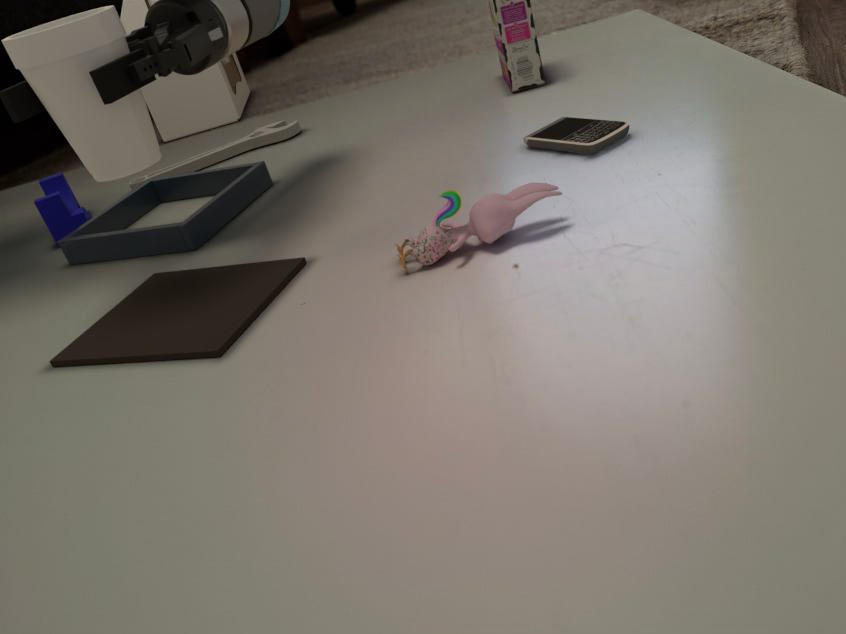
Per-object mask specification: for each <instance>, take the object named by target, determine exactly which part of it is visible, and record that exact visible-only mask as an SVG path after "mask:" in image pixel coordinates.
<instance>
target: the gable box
mask: <svg viewBox="0 0 846 634" xmlns="http://www.w3.org/2000/svg"><path fill="white" fill-rule="evenodd" d="M157 1H158V0H122V5H121V10H120V11H121V12H120V16H119V18H120V20H121V22H122V25H123V27H124V29H125V31H126V34H125V36H128V35H130V34H131V32H132V31H134V30H136V29H139V28H142V27H144V24H145V18H146V14H147V12H148V10H149V8H150V7H151V6H152V5H153V4H154V3H155V2H157ZM229 59H230V61H229V62H228V63H226V64H223V63H222V62H221V60H220V61H218V62H217V63H216V64H214V65H213V66H211V67H209V68H207V69H206V70H204V71H202V72H200V73H198V74H195V75H182V74H178V73H175V72H172V73H171V74H169V76H166V77H162V76H161V77H159V76H158V74H156V75H155V77H156V79H157V80H155V81H153V82H151V83H149V84H147V85H145V86H143V87H142V88H141V89H142V93H143V96H144V99H145V102H146V105H147V109H148V111H149V112H150V115H151V117H152V119H153V121H154V123H155V126H156V128H157V130H158V133H159V134H160V137H161V139H162V140H163V143H168V142H171V141H174V140H178V139H181V138H185V137H188V136H193V135H195V134H199V133H203V132H206V131H209V130H213V129H216V128H219V127H223V126H226V125H229V124H233V123H236V122H239V121H241V120H240V119H241V117H242V115H243V112H244V110H245V107H246V104H247V101H248V99H249V96H250V94H251V90H250V87H249V85H248V82H247V79H246V76H245V74H244V72H243V69H242V67H241V64H240V61H239V58H238V56H237V53H236V52H235V53H233V54H230V55H229Z"/></svg>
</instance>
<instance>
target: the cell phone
mask: <svg viewBox="0 0 846 634" xmlns="http://www.w3.org/2000/svg"><path fill="white" fill-rule="evenodd" d="M629 131H630V124H629V122H626V121H620V120H609V119H595V118H584V117H583V118H582V117H569V116H562V117H559V118H557V119H556V120H554V121H552V122H550V123H548V124H547V125H545V126H542V127H541V128H539V129H537V130H535V131H533V132H532V133H530V134H527V135H526V136H524V137H522V140H523V143H524V144H525V145H526V146H527V147H528V148H535V149H542V150H552V151H560V152H568V153H574V154H575V153H576V154H582V155H583V154H585V155H595V154H597V153H599V152H601V151H602V150H604V149H606V148H608V147H610V146H611V145H613V144H615V143H616V142H618V141H620V140H622V139H623V138H625V137H626V136H627V135H628V133H629Z"/></svg>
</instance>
